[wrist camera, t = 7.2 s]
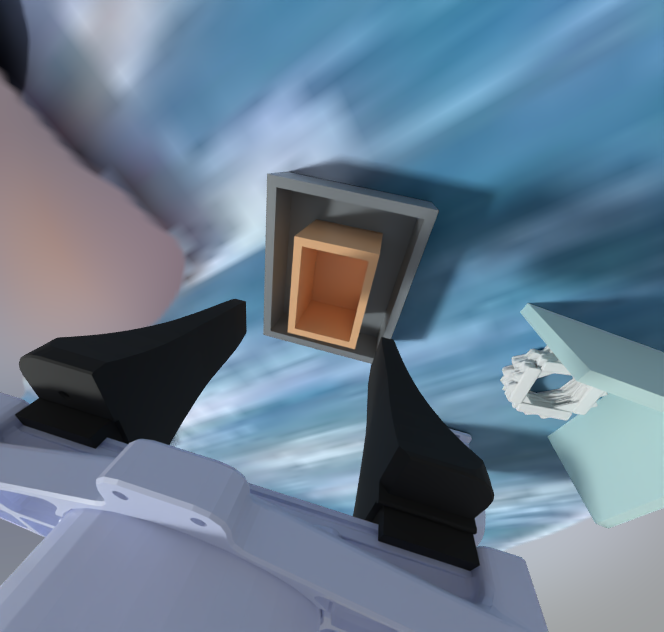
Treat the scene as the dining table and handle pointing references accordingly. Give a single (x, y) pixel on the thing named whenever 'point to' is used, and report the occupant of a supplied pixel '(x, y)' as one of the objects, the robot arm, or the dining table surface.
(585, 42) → the dining table surface
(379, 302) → the big crate
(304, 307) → the small crate
